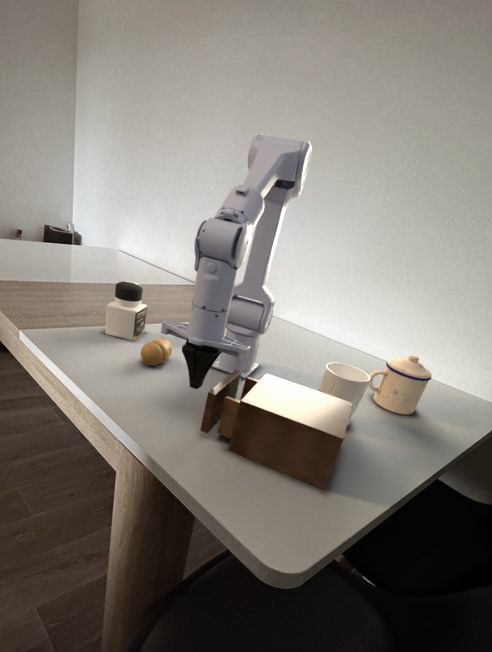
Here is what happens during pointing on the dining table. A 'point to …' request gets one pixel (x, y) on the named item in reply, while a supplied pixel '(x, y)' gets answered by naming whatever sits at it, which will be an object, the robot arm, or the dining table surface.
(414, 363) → the teacup with lid
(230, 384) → the drawer
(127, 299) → the medicine bottle
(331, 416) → the cabinet
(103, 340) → the dining table surface
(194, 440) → the dining table surface
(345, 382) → the white cup
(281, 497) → the dining table surface
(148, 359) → the bread roll
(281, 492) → the dining table surface
